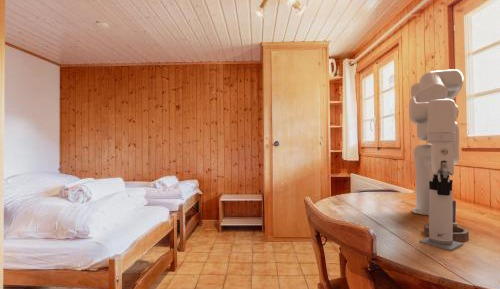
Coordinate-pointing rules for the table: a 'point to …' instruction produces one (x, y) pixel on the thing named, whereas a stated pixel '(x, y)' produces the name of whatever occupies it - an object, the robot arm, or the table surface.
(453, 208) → the flask
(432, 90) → the robot arm
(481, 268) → the table surface
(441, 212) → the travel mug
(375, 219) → the table surface
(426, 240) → the mat
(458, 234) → the collar
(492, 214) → the table surface
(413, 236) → the table surface
